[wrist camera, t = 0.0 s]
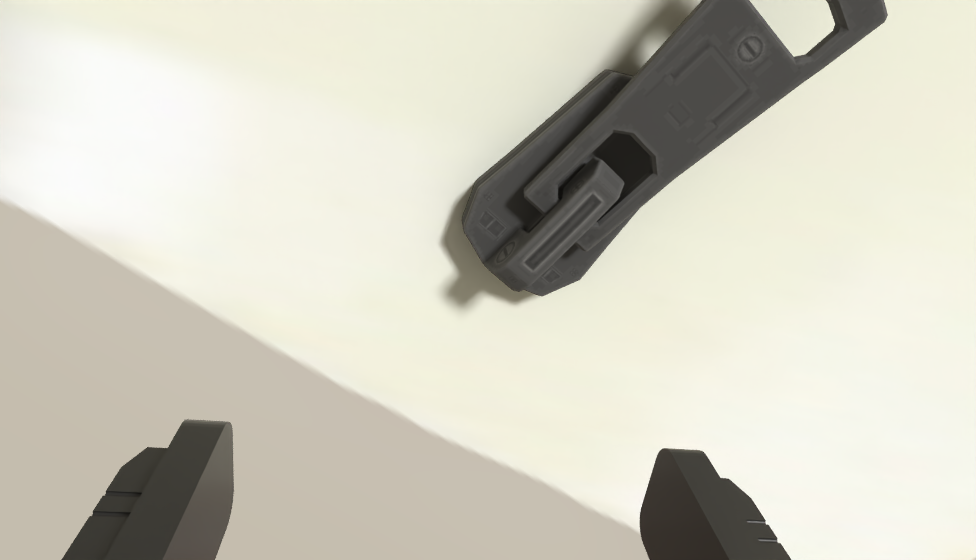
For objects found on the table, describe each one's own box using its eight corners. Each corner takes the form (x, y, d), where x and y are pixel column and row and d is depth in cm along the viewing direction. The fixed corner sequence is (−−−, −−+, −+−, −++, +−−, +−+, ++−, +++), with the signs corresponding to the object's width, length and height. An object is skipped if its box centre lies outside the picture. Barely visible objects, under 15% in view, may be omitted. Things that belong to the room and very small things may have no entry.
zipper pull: (910, 15, 32) (556, 349, 38) (832, 13, 38) (538, 300, 44) (811, -131, 29) (443, 256, 35) (744, -109, 35) (440, 218, 41)
